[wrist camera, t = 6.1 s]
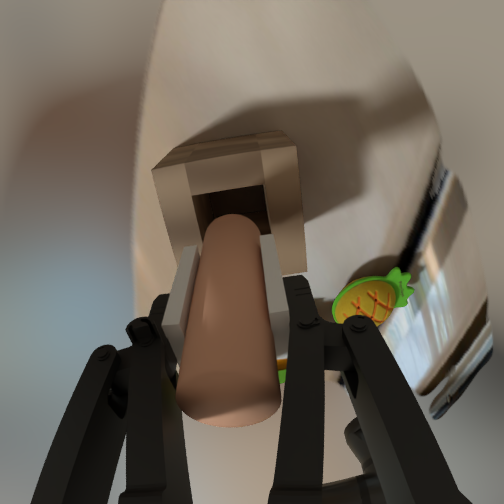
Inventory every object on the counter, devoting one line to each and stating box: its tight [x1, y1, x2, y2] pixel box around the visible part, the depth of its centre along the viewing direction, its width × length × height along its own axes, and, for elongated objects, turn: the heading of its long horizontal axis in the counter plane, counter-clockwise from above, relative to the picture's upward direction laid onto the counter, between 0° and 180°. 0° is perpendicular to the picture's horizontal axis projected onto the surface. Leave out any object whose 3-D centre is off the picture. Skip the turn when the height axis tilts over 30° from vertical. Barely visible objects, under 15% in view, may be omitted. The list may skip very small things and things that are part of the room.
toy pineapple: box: [332, 267, 414, 326], centre depth 34 cm, size 7×10×5 cm
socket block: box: [151, 131, 307, 275], centre depth 27 cm, size 10×10×8 cm
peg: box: [176, 214, 281, 427], centre depth 15 cm, size 4×4×12 cm
